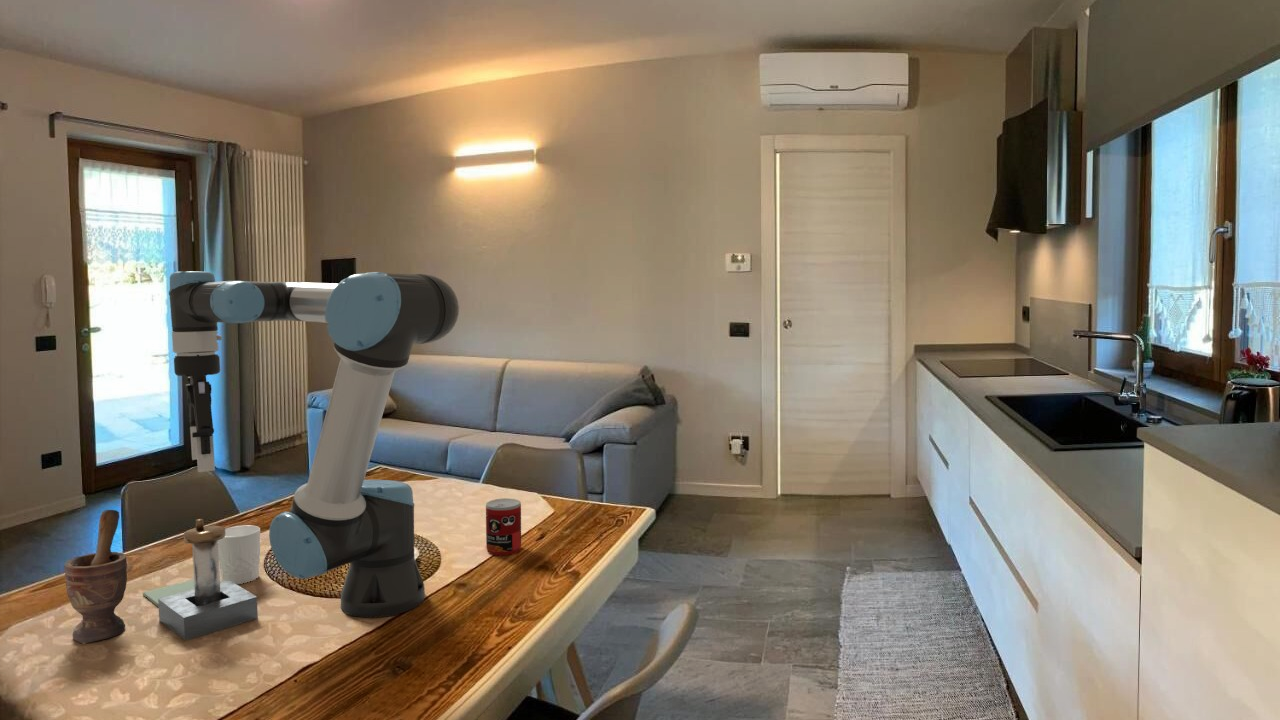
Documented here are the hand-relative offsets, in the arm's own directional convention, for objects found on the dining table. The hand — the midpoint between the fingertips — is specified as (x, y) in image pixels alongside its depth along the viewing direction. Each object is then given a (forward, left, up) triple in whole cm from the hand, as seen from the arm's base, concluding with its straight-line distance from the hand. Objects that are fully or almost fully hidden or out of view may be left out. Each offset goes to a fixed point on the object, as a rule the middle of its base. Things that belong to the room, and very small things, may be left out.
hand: (203, 465), depth 149 cm
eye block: (-13, +5, -25) cm, 29 cm away
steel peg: (-13, +5, -25) cm, 29 cm away
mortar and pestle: (-3, +19, -26) cm, 32 cm away
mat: (+3, +4, -25) cm, 26 cm away
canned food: (-23, -54, -26) cm, 64 cm away
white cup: (+3, -7, -26) cm, 27 cm away
